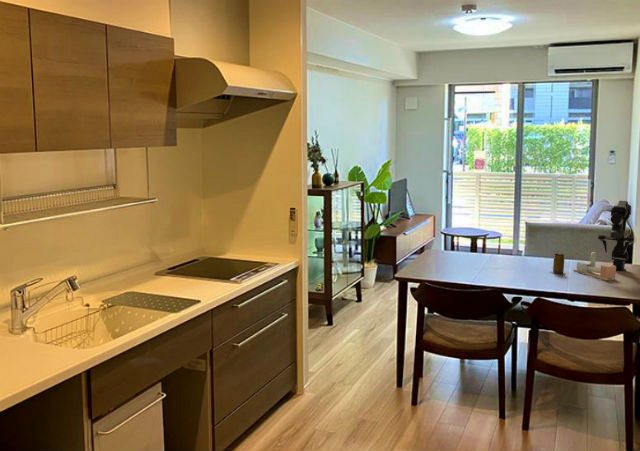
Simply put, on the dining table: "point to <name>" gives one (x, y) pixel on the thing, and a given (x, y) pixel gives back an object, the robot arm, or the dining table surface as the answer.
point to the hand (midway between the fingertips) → (614, 253)
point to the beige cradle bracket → (593, 264)
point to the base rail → (593, 274)
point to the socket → (608, 271)
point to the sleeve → (583, 266)
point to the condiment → (558, 264)
